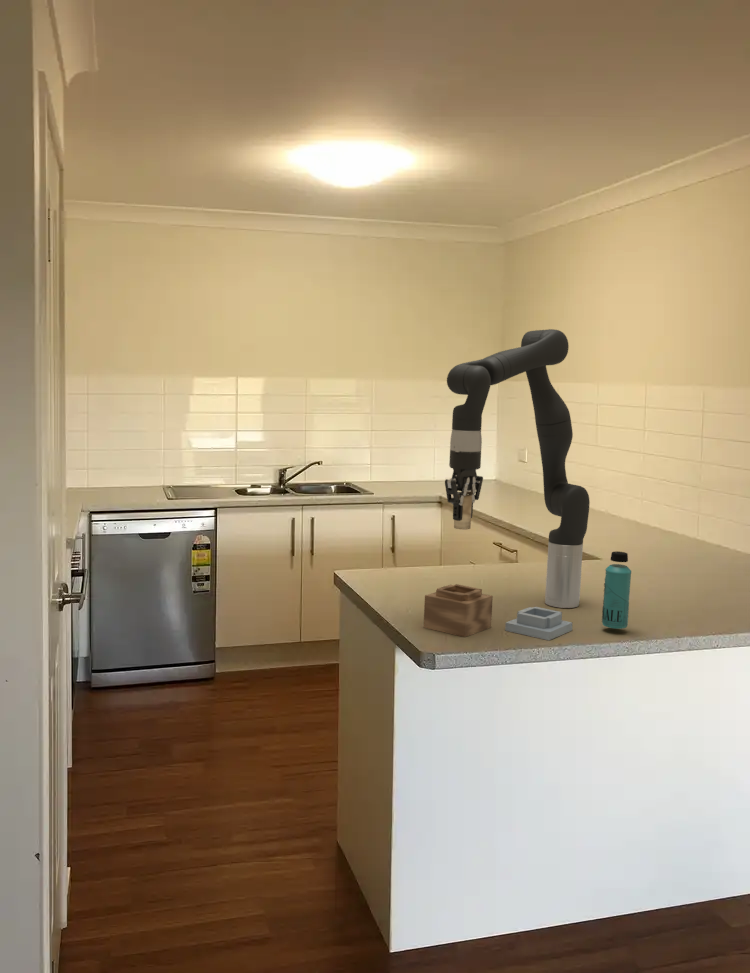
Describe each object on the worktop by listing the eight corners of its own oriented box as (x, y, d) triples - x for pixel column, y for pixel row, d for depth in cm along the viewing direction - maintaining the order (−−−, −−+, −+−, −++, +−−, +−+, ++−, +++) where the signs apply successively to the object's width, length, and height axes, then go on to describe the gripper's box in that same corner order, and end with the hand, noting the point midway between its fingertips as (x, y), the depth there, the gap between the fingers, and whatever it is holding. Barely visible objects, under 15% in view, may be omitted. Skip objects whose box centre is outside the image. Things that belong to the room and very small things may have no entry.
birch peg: (459, 526, 235) (461, 493, 234) (473, 528, 233) (475, 495, 232) (450, 527, 232) (452, 495, 231) (464, 530, 230) (466, 497, 229)
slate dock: (529, 621, 244) (530, 603, 243) (572, 630, 236) (573, 612, 236) (505, 630, 234) (506, 612, 234) (549, 640, 227) (550, 622, 226)
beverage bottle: (623, 627, 240) (628, 549, 238) (631, 635, 234) (636, 555, 231) (597, 627, 240) (602, 549, 238) (604, 634, 234) (610, 554, 231)
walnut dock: (450, 618, 244) (452, 581, 243) (491, 627, 237) (493, 589, 235) (423, 627, 235) (425, 589, 233) (464, 637, 227) (466, 598, 226)
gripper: (468, 446, 238) (465, 514, 240) (436, 449, 227) (433, 520, 229) (494, 448, 233) (491, 518, 235) (462, 451, 222) (459, 524, 224)
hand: (462, 518), depth 232 cm, fingers closed on birch peg, 4 cm apart
